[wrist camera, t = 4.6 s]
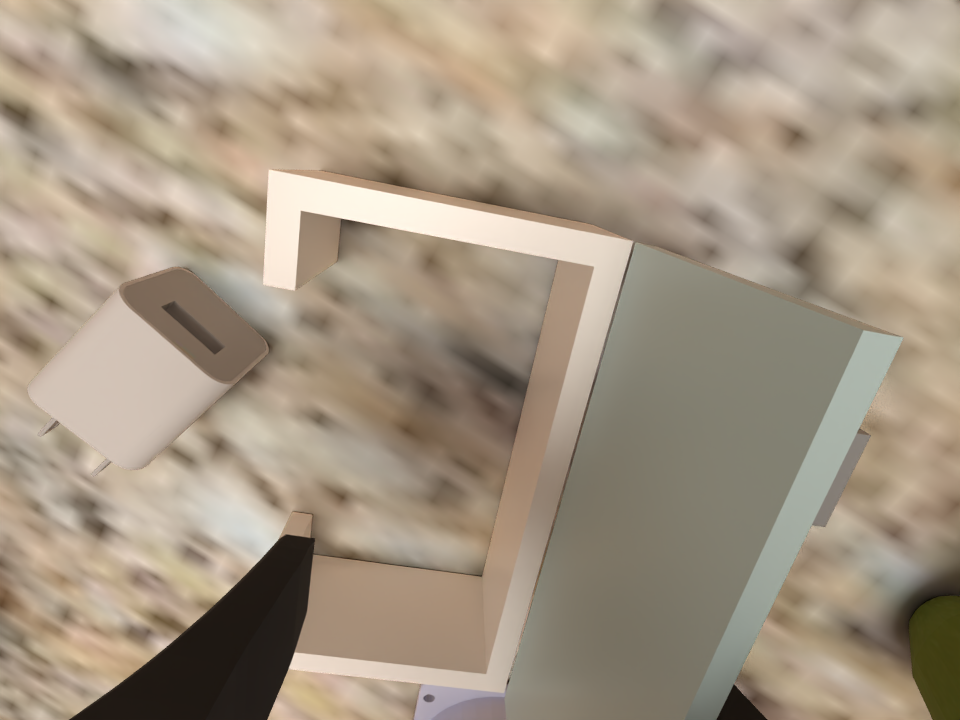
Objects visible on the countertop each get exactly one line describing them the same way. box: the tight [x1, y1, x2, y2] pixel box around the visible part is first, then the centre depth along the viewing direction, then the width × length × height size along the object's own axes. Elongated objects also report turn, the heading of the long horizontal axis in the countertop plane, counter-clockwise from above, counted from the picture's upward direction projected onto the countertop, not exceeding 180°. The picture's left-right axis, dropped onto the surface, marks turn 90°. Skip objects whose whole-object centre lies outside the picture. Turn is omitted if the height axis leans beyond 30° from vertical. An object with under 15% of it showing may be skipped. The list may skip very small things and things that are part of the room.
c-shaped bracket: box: [263, 169, 633, 693], centre depth 17 cm, size 16×9×5 cm, turn 169°
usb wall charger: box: [27, 267, 269, 476], centre depth 17 cm, size 4×7×4 cm, turn 131°
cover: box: [504, 242, 903, 720], centre depth 12 cm, size 16×8×1 cm
